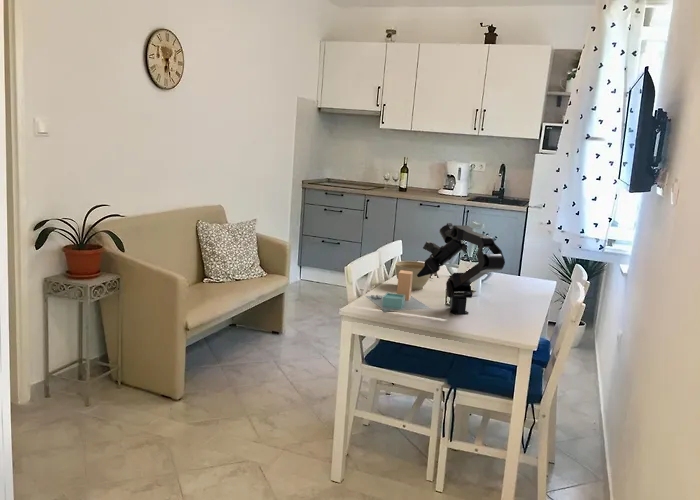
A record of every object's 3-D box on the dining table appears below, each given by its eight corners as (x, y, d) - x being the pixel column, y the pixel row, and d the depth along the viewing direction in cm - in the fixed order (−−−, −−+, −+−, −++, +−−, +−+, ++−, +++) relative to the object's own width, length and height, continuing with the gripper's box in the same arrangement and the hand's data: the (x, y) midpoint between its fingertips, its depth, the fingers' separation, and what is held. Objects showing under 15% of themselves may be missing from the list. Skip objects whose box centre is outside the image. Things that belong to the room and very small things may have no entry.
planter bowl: (427, 285, 281) (430, 262, 279) (431, 294, 265) (434, 270, 263) (392, 282, 281) (394, 259, 279) (394, 291, 265) (396, 267, 263)
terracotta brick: (410, 297, 254) (412, 271, 252) (408, 300, 249) (410, 274, 247) (398, 296, 255) (400, 270, 253) (396, 298, 250) (398, 272, 248)
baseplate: (431, 310, 240) (432, 299, 240) (384, 312, 233) (385, 300, 233) (409, 296, 259) (410, 286, 258) (364, 297, 252) (365, 287, 251)
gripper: (439, 231, 254) (411, 254, 258) (433, 238, 236) (402, 262, 241) (457, 252, 253) (427, 275, 258) (451, 260, 235) (420, 284, 240)
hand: (419, 274), depth 249 cm, fingers open, 9 cm apart
